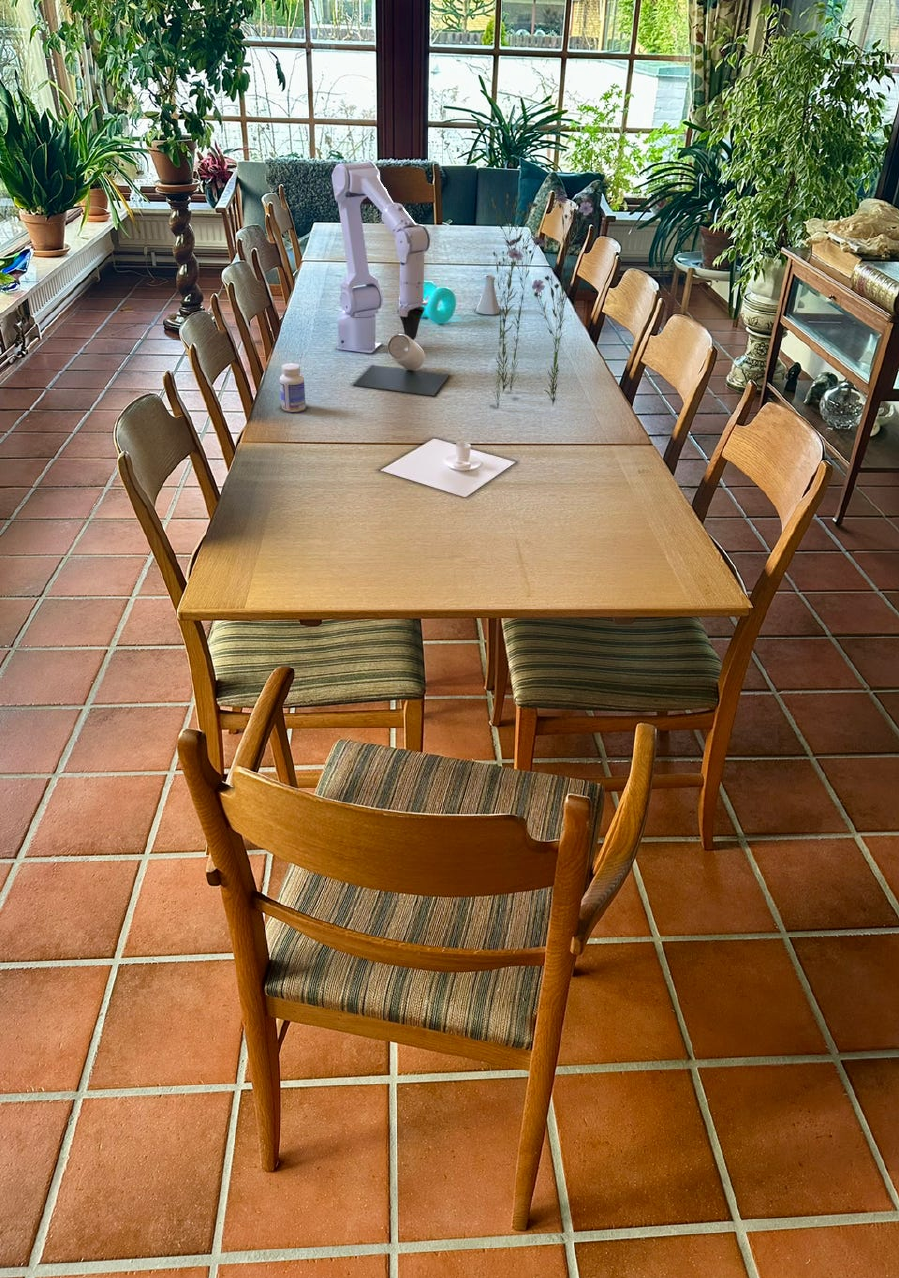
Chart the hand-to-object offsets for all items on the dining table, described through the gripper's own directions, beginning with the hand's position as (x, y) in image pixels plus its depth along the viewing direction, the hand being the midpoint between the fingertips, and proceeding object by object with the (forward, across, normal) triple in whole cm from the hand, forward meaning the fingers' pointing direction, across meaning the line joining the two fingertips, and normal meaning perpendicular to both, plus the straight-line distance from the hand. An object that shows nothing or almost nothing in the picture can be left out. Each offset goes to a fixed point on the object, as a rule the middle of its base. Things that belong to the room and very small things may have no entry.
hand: (410, 338), depth 241 cm
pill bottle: (+9, -32, +18) cm, 38 cm away
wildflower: (+9, -9, -31) cm, 33 cm away
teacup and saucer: (+9, -50, -23) cm, 56 cm away
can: (+6, +3, 0) cm, 6 cm away
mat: (+8, -7, 0) cm, 11 cm away
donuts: (+9, +43, +6) cm, 44 cm away
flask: (+9, +57, -7) cm, 58 cm away
